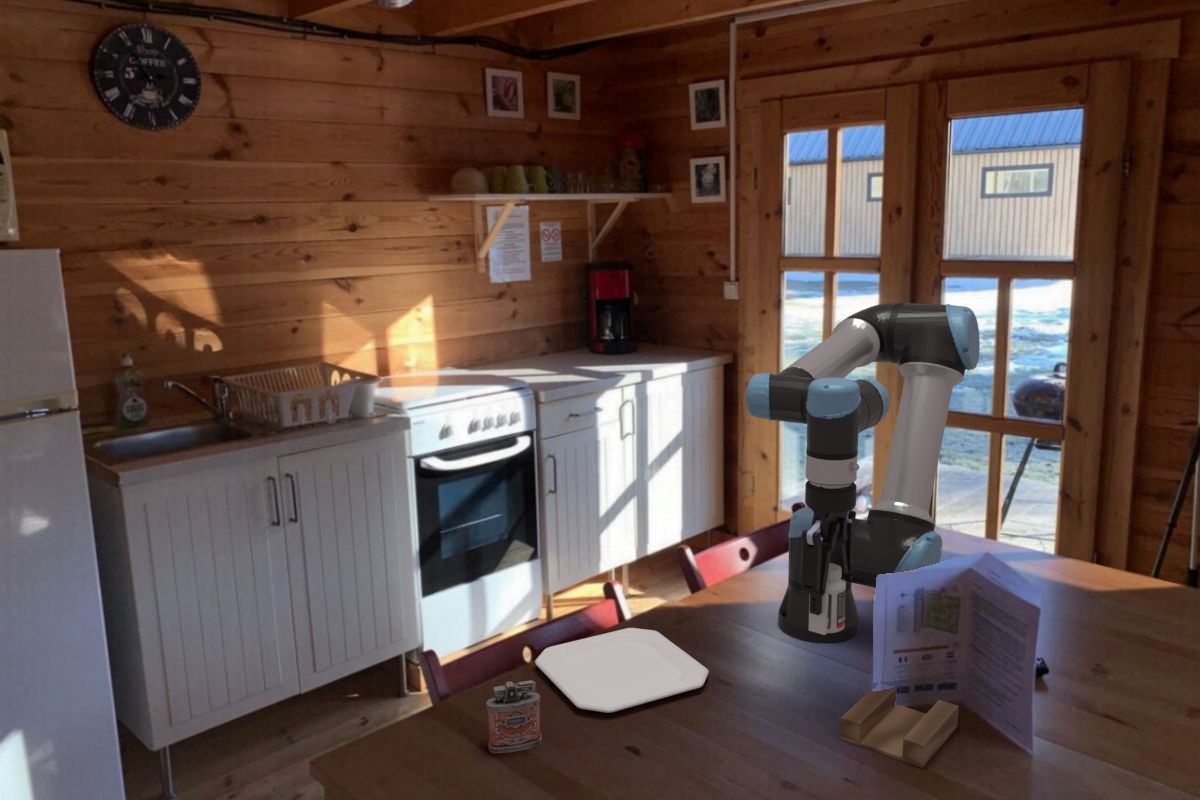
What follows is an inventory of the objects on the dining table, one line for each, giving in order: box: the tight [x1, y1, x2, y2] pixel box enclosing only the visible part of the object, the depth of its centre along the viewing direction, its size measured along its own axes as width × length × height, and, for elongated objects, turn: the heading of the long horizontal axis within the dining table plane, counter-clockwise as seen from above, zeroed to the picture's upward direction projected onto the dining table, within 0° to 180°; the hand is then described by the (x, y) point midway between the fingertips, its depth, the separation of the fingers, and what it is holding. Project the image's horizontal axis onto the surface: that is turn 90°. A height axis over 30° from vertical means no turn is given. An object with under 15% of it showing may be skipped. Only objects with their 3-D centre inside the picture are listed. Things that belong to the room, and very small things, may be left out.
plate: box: [534, 627, 710, 713], centre depth 166 cm, size 25×25×2 cm
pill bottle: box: [825, 563, 846, 633], centre depth 149 cm, size 5×5×10 cm
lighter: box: [486, 679, 543, 754], centre depth 144 cm, size 8×3×10 cm, turn 106°
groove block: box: [839, 688, 960, 769], centre depth 146 cm, size 13×14×4 cm
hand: (826, 624), depth 150 cm, fingers closed on pill bottle, 5 cm apart
